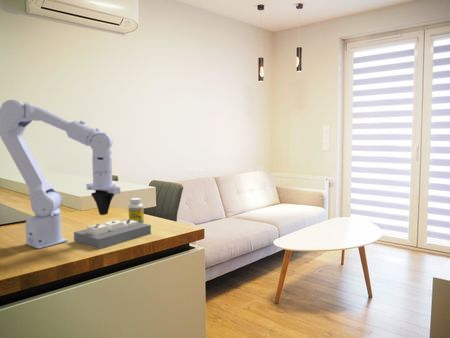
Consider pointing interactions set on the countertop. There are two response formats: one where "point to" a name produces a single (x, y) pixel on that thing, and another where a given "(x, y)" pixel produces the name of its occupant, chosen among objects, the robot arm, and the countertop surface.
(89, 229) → the tile two
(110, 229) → the tile one
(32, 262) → the countertop surface
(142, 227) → the button board
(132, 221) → the tile three
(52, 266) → the countertop surface
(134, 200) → the supplement bottle
